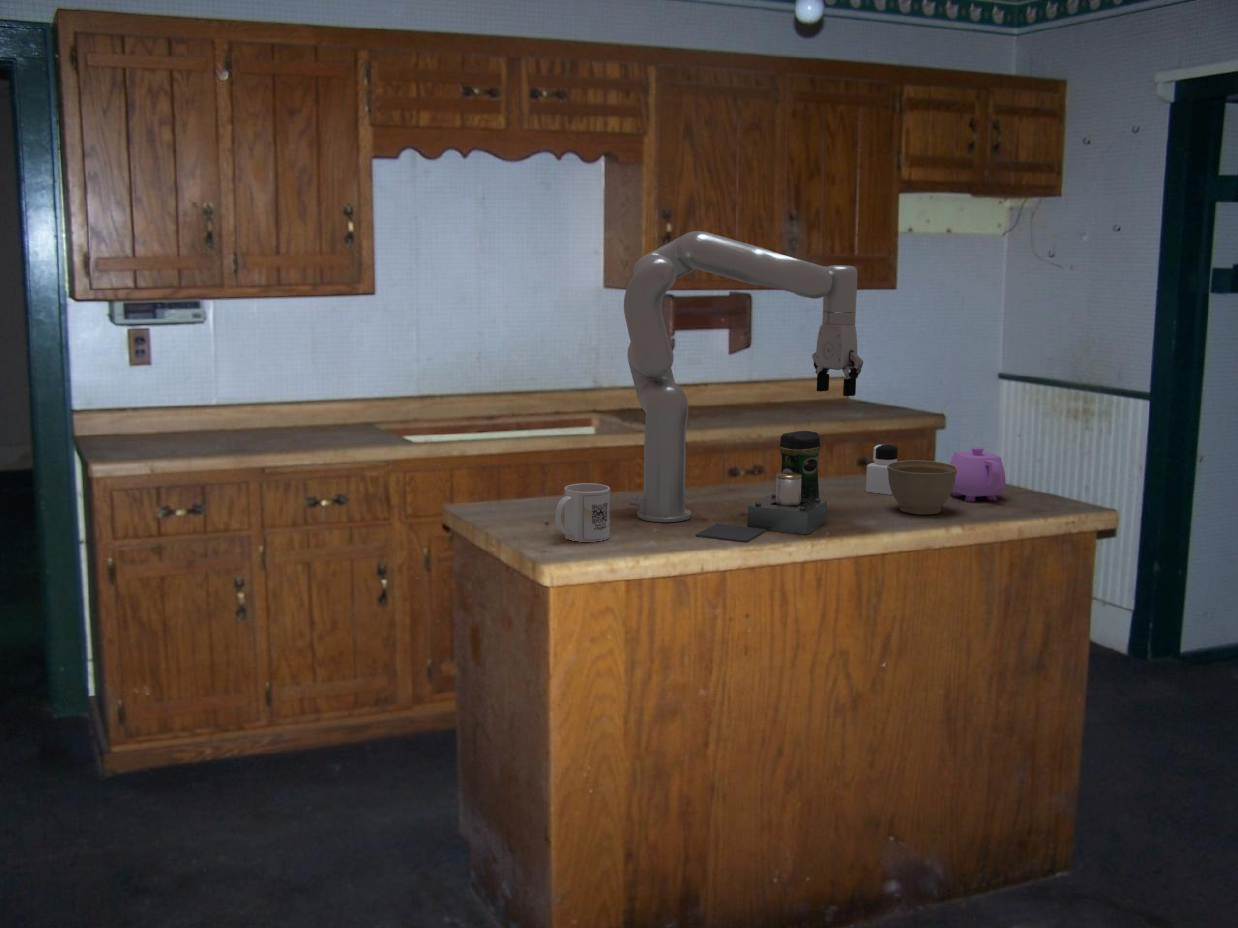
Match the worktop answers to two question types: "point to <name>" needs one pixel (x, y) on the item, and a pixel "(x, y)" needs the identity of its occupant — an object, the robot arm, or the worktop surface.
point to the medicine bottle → (880, 469)
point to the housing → (787, 515)
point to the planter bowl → (921, 485)
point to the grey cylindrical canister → (788, 489)
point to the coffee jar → (802, 459)
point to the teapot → (978, 474)
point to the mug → (585, 512)
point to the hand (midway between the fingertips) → (835, 393)
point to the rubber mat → (731, 532)
